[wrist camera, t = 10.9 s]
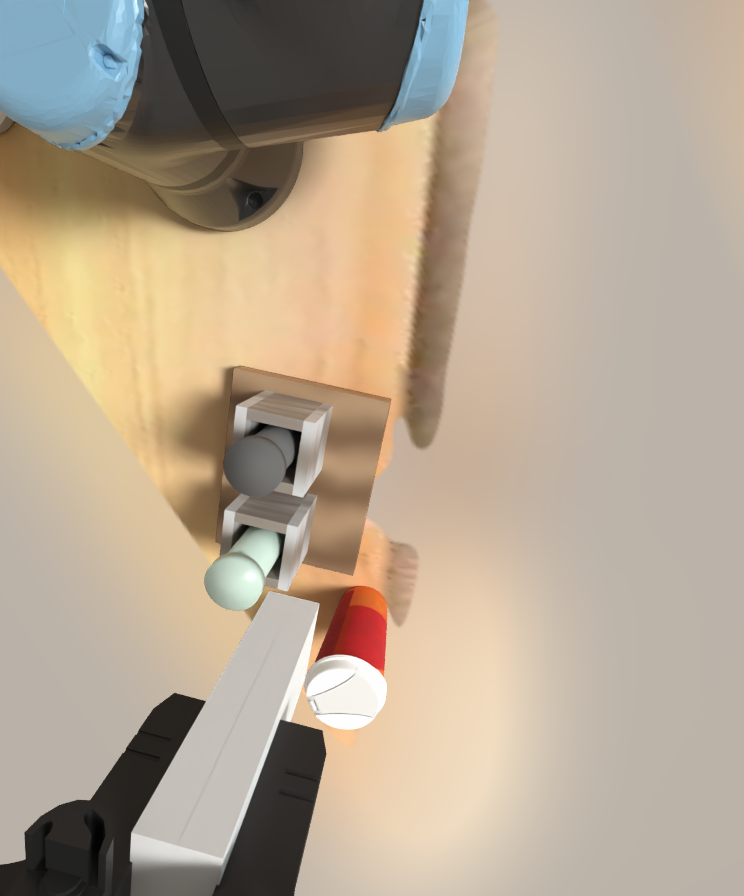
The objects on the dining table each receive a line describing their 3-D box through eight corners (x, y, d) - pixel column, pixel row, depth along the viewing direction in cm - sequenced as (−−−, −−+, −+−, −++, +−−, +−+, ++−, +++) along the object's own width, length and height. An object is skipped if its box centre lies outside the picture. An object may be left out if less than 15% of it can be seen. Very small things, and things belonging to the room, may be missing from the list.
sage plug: (255, 499, 49) (207, 553, 39) (300, 510, 49) (263, 567, 38) (250, 540, 51) (202, 602, 40) (293, 550, 50) (256, 616, 40)
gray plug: (272, 404, 47) (226, 433, 37) (318, 414, 47) (285, 447, 36) (266, 449, 49) (220, 489, 38) (311, 459, 49) (277, 502, 38)
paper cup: (345, 639, 58) (318, 740, 44) (322, 586, 56) (288, 674, 43) (406, 626, 56) (397, 726, 43) (384, 570, 54) (369, 657, 41)
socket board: (241, 365, 49) (198, 379, 40) (391, 398, 48) (381, 420, 39) (222, 534, 56) (182, 578, 46) (355, 566, 55) (340, 618, 46)
